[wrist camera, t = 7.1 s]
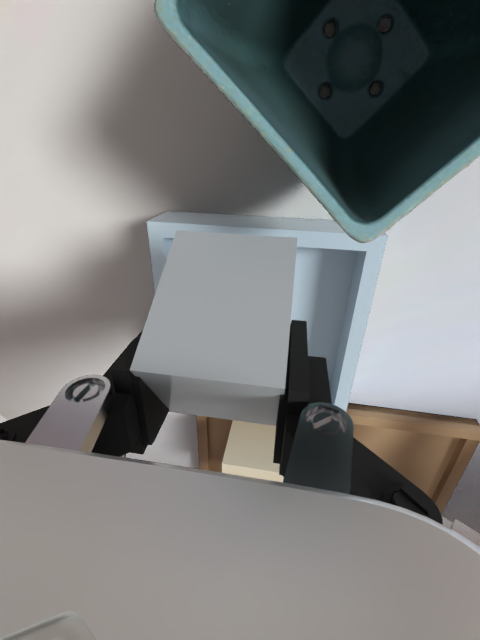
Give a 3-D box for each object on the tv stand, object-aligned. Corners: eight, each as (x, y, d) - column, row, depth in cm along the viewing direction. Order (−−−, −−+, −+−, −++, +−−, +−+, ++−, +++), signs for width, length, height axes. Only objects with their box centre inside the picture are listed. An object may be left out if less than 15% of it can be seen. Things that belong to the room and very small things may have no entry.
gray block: (297, 237, 10) (284, 388, 8) (289, 306, 14) (279, 426, 11) (176, 230, 11) (129, 370, 8) (197, 298, 14) (168, 411, 12)
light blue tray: (375, 222, 18) (387, 235, 15) (339, 391, 24) (343, 421, 21) (167, 211, 20) (146, 221, 17) (180, 371, 25) (166, 397, 23)
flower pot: (336, 205, 18) (362, 253, 10) (219, 72, 16) (142, 6, 8) (502, 54, 14) (747, -53, 6) (374, -147, 12) (503, -660, 4)
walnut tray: (476, 419, 23) (484, 432, 22) (426, 519, 29) (430, 534, 28) (199, 384, 26) (195, 394, 25) (204, 482, 31) (201, 493, 30)
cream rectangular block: (287, 415, 25) (284, 473, 21) (282, 452, 27) (279, 511, 23) (235, 408, 26) (221, 463, 21) (234, 444, 27) (222, 501, 23)
